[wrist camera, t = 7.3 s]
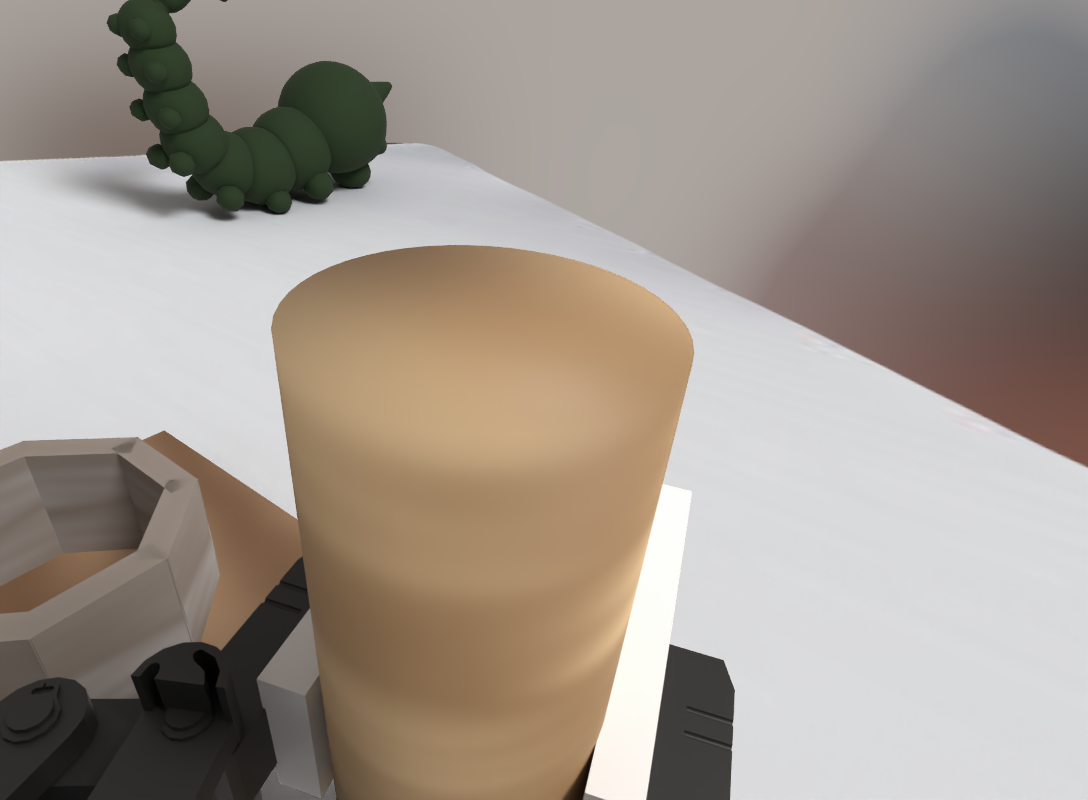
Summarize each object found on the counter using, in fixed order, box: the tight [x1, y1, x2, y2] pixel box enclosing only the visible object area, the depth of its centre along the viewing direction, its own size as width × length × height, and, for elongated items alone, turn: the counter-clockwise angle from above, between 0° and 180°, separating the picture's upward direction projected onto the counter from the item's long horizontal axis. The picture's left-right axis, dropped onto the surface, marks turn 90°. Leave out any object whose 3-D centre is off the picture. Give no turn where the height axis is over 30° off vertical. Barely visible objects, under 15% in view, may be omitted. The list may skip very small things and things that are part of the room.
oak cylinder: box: [271, 245, 694, 800], centre depth 11 cm, size 4×4×16 cm
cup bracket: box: [0, 431, 303, 701], centre depth 19 cm, size 14×14×6 cm
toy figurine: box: [107, 0, 392, 214], centre depth 56 cm, size 9×19×25 cm
